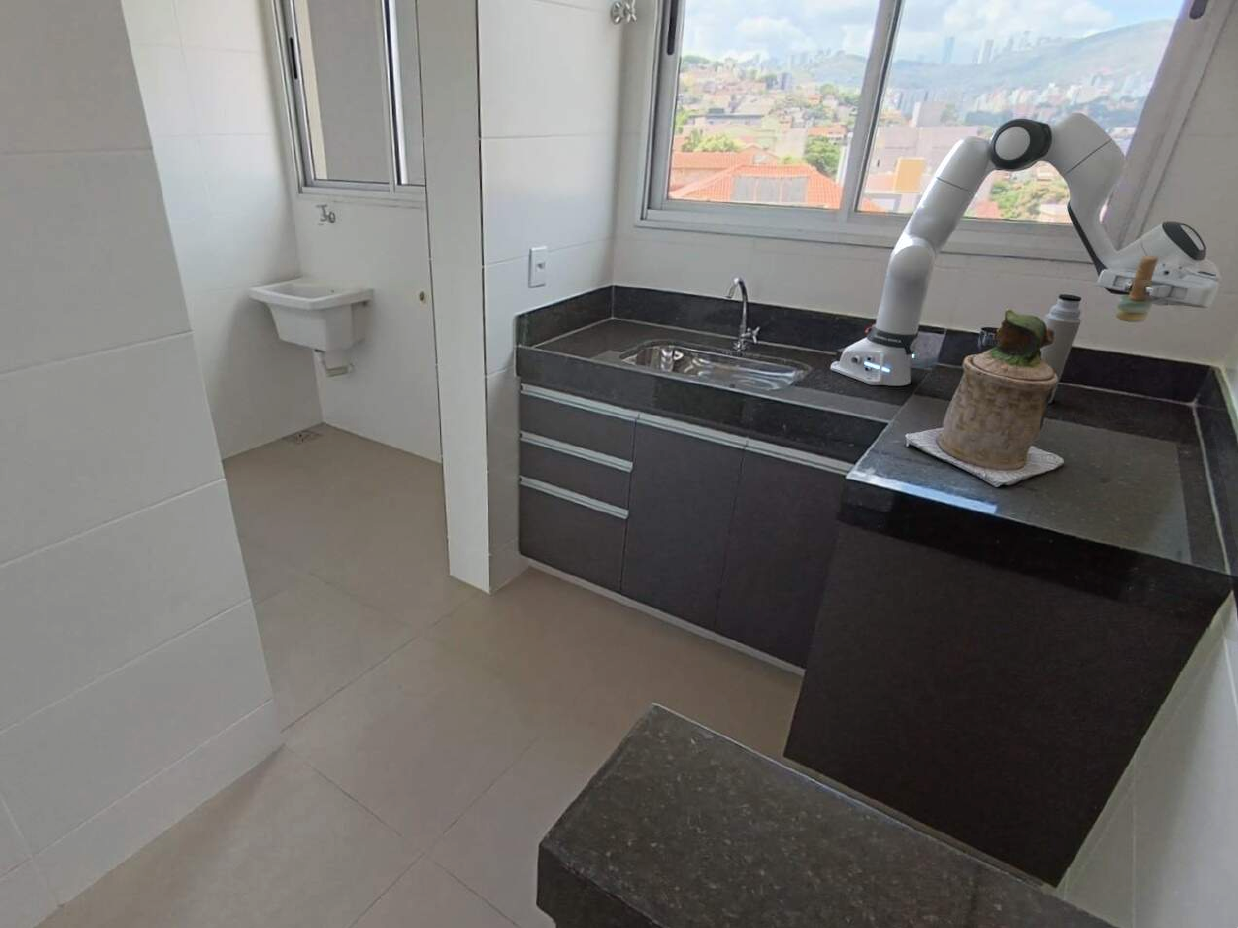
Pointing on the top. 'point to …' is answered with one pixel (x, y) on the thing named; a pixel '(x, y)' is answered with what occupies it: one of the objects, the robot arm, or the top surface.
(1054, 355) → the thermos bottle
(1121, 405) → the top surface
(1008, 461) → the cookie jar
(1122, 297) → the brush
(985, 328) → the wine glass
